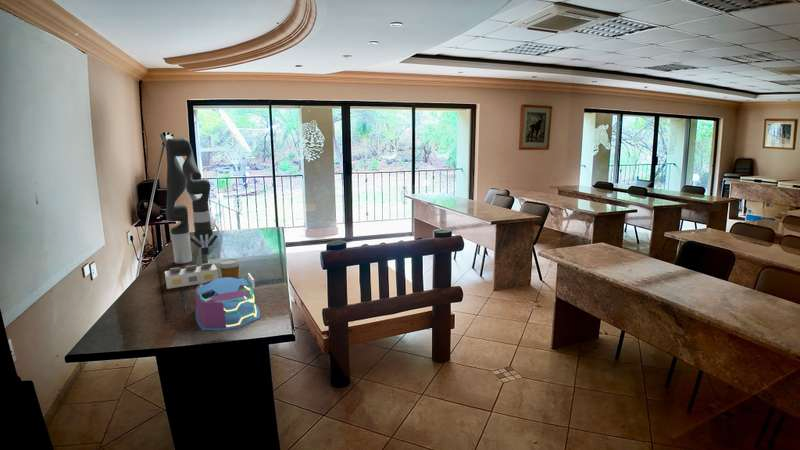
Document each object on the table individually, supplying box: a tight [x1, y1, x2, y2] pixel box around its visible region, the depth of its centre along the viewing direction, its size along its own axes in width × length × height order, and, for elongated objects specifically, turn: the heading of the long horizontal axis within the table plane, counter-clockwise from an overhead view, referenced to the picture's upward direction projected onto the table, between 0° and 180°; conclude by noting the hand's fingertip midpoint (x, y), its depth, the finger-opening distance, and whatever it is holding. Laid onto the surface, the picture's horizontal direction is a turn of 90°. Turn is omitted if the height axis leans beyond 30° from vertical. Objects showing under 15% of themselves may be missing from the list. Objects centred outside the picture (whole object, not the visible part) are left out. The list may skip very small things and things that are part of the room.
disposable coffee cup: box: [218, 258, 240, 279], centre depth 212 cm, size 10×10×12 cm
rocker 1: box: [169, 267, 182, 272], centre depth 213 cm, size 8×4×1 cm, turn 30°
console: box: [164, 264, 219, 290], centre depth 218 cm, size 10×23×7 cm, turn 120°
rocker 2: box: [184, 264, 197, 270], centre depth 217 cm, size 8×4×1 cm, turn 30°
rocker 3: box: [200, 262, 213, 267], centre depth 220 cm, size 8×4×1 cm, turn 30°
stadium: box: [194, 272, 261, 331], centre depth 179 cm, size 35×24×14 cm
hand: (205, 254), depth 217 cm, fingers closed
